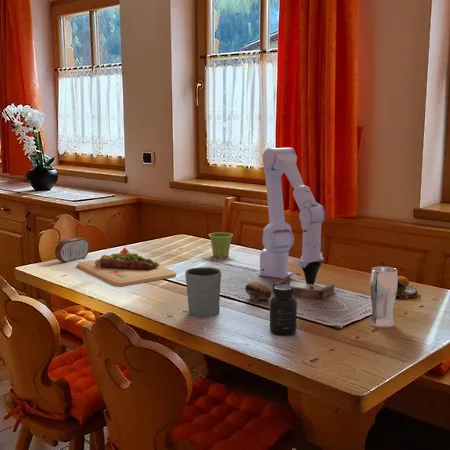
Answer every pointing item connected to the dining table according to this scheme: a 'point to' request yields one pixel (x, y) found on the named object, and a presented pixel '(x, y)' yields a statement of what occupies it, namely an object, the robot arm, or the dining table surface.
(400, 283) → the salad plate
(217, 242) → the plant pot
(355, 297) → the dining table surface
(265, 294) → the mushroom
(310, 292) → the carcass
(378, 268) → the beer glass
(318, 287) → the door
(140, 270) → the cutting board
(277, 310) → the supplement bottle
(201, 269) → the grey tapered cup
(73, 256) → the tin
